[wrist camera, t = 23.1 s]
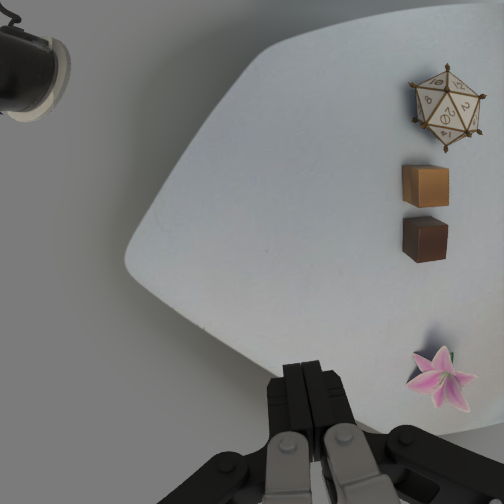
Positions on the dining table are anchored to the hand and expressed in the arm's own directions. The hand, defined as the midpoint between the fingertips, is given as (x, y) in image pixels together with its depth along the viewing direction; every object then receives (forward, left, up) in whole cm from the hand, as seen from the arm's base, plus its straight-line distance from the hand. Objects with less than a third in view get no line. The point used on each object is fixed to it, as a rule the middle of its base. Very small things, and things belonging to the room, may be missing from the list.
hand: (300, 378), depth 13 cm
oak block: (-4, +17, -23) cm, 29 cm away
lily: (+23, +22, -23) cm, 39 cm away
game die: (-12, +20, -23) cm, 33 cm away
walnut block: (+2, +17, -23) cm, 29 cm away
